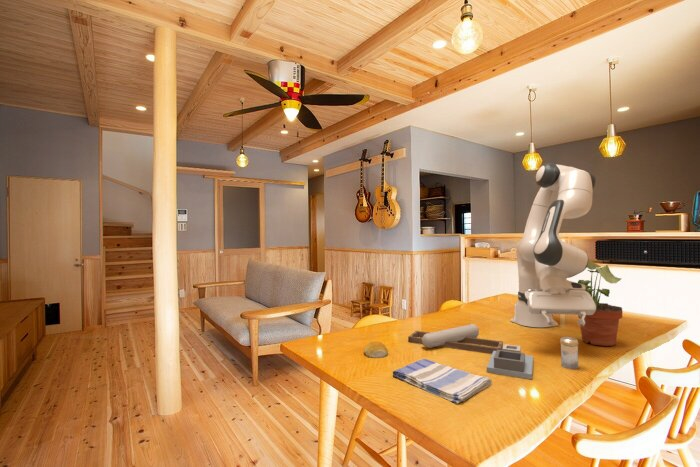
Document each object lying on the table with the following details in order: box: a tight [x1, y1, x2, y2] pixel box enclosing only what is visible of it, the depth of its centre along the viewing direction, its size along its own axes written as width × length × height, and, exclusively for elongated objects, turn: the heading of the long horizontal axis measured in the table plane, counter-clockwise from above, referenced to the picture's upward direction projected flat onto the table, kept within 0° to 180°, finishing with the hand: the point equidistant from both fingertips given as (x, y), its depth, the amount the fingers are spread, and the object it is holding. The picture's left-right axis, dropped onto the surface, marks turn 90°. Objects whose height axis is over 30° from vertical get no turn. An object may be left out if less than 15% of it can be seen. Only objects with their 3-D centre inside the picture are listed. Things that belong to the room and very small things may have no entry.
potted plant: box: [577, 259, 623, 347], centre depth 125 cm, size 16×15×35 cm
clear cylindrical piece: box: [559, 336, 579, 370], centre depth 105 cm, size 5×5×8 cm
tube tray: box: [407, 330, 504, 355], centre depth 129 cm, size 9×33×2 cm, turn 60°
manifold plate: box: [486, 343, 534, 381], centre depth 107 cm, size 16×12×4 cm
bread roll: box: [363, 341, 389, 359], centre depth 122 cm, size 8×9×4 cm
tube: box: [421, 323, 480, 349], centre depth 129 cm, size 5×5×25 cm
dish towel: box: [392, 358, 493, 404], centre depth 98 cm, size 17×24×3 cm
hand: (565, 324), depth 112 cm, fingers open, 8 cm apart
